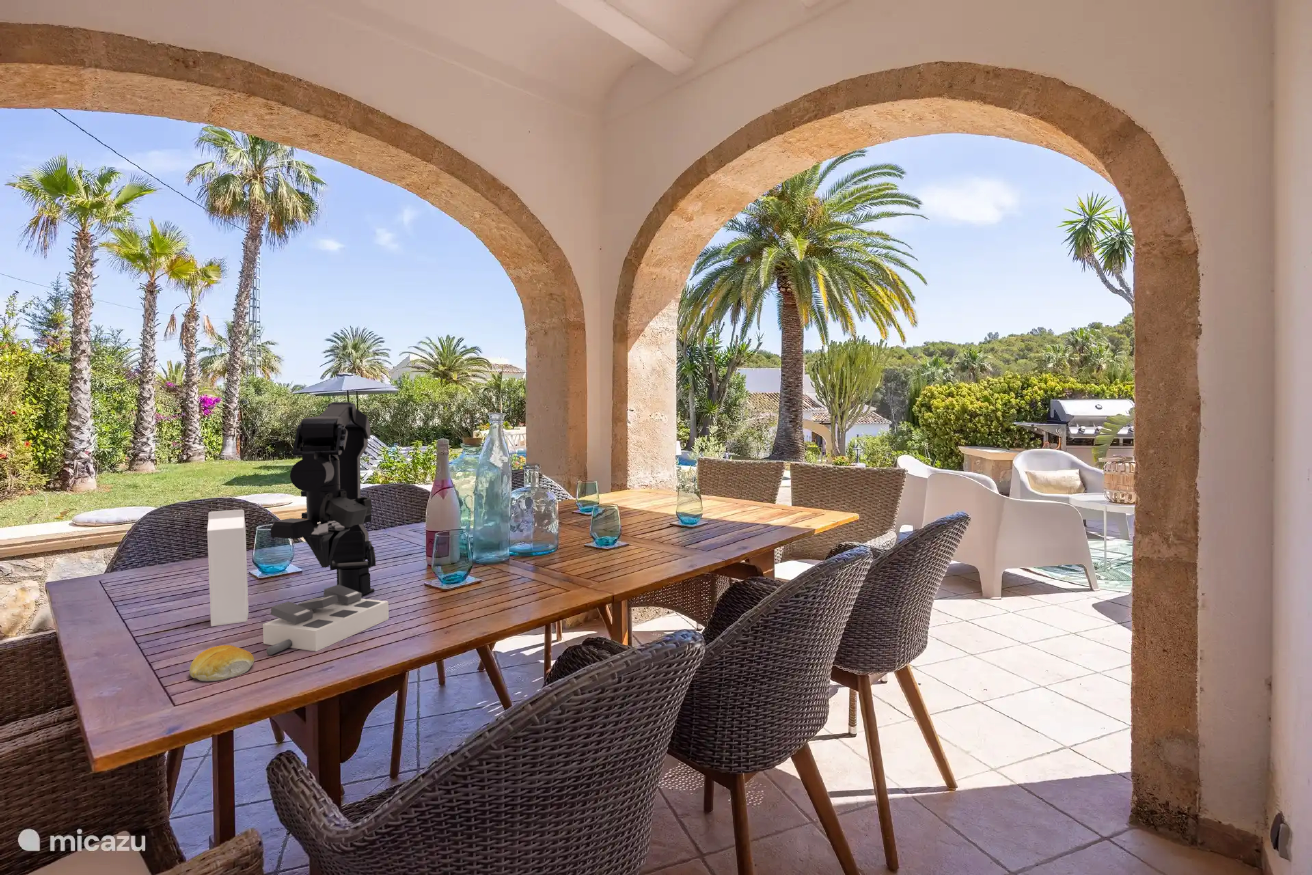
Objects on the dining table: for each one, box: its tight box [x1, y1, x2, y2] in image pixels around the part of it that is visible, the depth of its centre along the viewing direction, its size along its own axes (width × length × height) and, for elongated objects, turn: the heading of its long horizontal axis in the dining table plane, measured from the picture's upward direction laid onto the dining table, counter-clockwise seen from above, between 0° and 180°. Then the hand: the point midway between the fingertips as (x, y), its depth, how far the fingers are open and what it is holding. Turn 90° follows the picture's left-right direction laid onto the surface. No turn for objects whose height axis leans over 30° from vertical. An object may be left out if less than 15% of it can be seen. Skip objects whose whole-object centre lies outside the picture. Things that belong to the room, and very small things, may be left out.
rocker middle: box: [297, 595, 338, 610], centre depth 125 cm, size 6×4×2 cm, turn 71°
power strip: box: [262, 597, 390, 656], centre depth 122 cm, size 12×22×4 cm, turn 162°
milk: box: [206, 509, 249, 627], centre depth 130 cm, size 6×6×22 cm
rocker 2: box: [323, 584, 363, 605], centre depth 130 cm, size 6×4×2 cm, turn 72°
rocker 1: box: [270, 601, 313, 624], centre depth 119 cm, size 6×4×2 cm, turn 72°
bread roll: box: [188, 644, 255, 682], centre depth 106 cm, size 8×9×4 cm
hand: (325, 566), depth 124 cm, fingers closed
